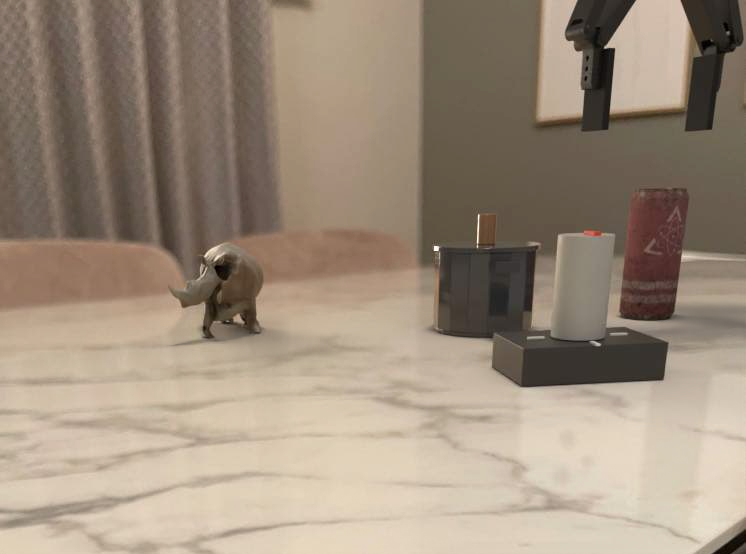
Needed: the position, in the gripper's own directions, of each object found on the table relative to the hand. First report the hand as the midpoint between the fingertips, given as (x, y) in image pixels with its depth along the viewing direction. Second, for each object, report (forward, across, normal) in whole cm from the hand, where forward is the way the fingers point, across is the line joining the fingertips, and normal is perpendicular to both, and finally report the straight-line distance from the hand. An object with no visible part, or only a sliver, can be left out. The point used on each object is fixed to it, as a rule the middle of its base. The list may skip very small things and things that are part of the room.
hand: (648, 131), depth 81 cm
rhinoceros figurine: (+19, +35, -26) cm, 47 cm away
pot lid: (+11, +10, -11) cm, 19 cm away
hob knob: (+16, +18, +12) cm, 27 cm away
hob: (+19, +18, +12) cm, 28 cm away
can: (+19, -11, -8) cm, 24 cm away
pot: (+19, +10, -11) cm, 24 cm away
